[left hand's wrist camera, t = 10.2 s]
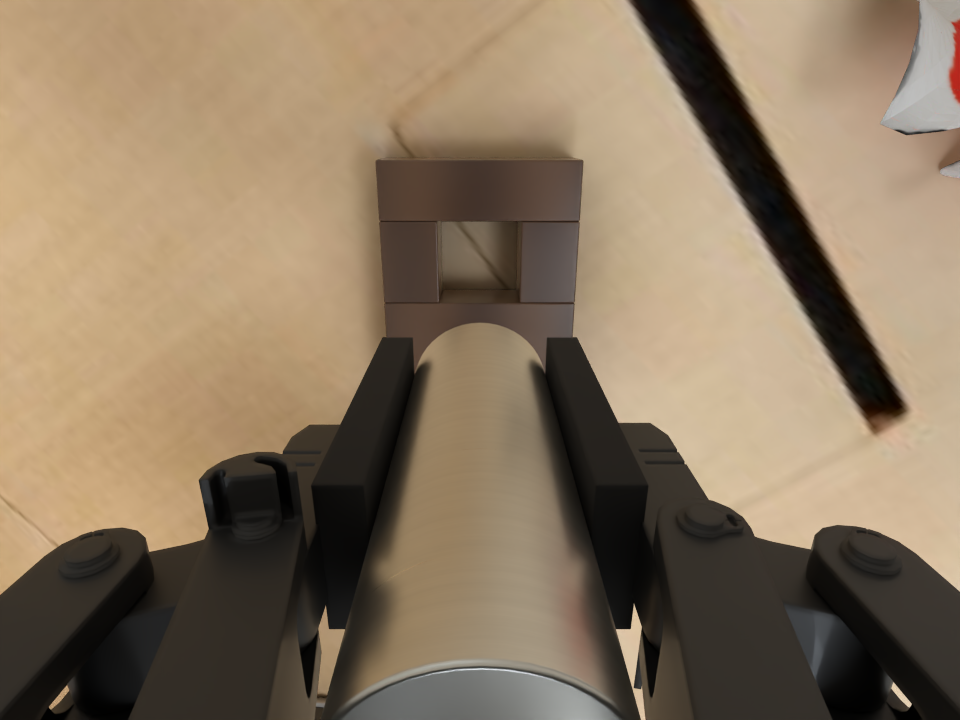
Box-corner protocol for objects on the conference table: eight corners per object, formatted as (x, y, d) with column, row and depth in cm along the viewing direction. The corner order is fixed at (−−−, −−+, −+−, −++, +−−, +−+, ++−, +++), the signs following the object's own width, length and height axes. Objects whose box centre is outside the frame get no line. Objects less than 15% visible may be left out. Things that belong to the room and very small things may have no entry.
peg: (547, 322, 14) (673, 664, 5) (542, 440, 16) (636, 894, 6) (412, 321, 14) (287, 663, 5) (417, 441, 16) (325, 893, 6)
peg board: (574, 157, 30) (610, 165, 22) (553, 531, 39) (573, 639, 30) (384, 157, 30) (348, 165, 22) (406, 531, 39) (385, 639, 30)
